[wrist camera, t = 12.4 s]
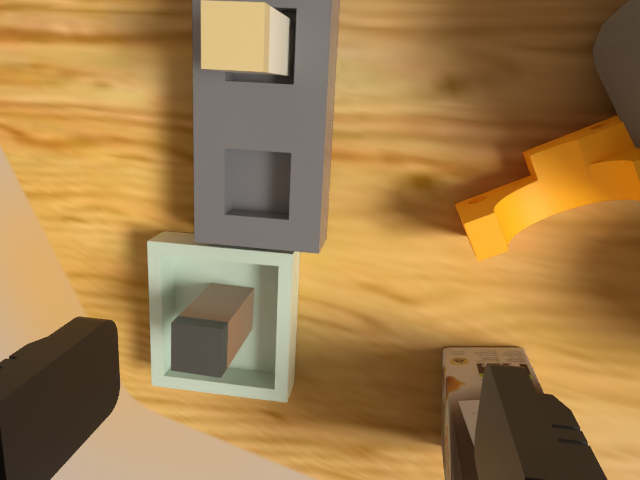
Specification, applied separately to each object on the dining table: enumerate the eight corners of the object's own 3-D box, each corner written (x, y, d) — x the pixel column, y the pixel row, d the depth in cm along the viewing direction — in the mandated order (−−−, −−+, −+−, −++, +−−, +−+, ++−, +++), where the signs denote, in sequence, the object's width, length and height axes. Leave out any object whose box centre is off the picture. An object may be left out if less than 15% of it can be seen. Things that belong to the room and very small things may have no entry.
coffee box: (439, 345, 43) (458, 484, 28) (525, 346, 42) (594, 490, 27) (440, 448, 46) (458, 629, 30) (521, 451, 45) (583, 640, 29)
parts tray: (164, 230, 44) (147, 240, 41) (300, 243, 43) (292, 254, 40) (167, 367, 47) (151, 385, 44) (294, 382, 46) (286, 402, 43)
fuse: (242, 19, 37) (200, 0, 30) (293, 21, 37) (264, 2, 29) (241, 73, 38) (201, 68, 30) (291, 76, 38) (263, 71, 30)
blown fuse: (211, 282, 44) (171, 322, 36) (254, 288, 44) (222, 329, 36) (210, 323, 45) (170, 370, 37) (252, 328, 45) (221, 378, 37)
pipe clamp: (617, 114, 37) (659, 119, 31) (636, 174, 38) (680, 190, 32) (446, 181, 40) (453, 197, 34) (466, 235, 41) (478, 261, 35)
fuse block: (212, -21, 39) (191, -33, 35) (340, -18, 38) (333, -30, 34) (212, 229, 43) (194, 242, 40) (326, 239, 42) (318, 253, 38)
